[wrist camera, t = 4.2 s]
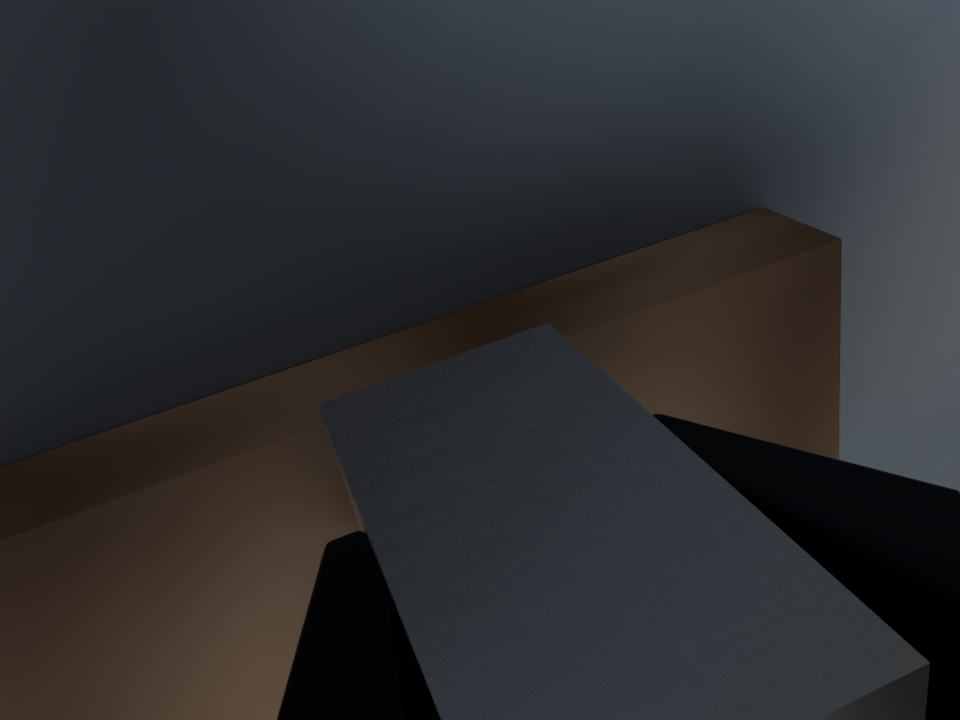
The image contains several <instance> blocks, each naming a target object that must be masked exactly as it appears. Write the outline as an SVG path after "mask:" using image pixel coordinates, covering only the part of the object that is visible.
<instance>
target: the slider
mask: <svg viewBox="0 0 960 720" xmlns="http://www.w3.org/2000/svg"><path fill="white" fill-rule="evenodd" d="M317 406H318V409H319V412H320V415H321V418H322V421H323V424H324V427H325V430H326V432H327V435H328V438H329V441H330V444H331V447H332V450H333V453H334V456H335V459H336V461H337V464H338V467H339V470H340V473H341V476H342V479H343V482H344V485H345V488H346V490H347V493H348V496H349V499H350V502H351V505H352V508H353V511H354V514H355V517H356V519H357V522H358V525H359V528H360V531H363V532H364V533H365V534H366V536H367V539H368V541H369V544H370V546H371V549H372V551H373V554H374V556H375V559H376V561H377V564H378V566H379V569H380V571H381V574H382V576H383V579H384V581H385V583H386V586H387V589H388V591H389V594H390V597H391V600H392V603H393V606H394V609H395V612H396V615H397V618H398V620H399V623H400V626H401V629H402V632H403V635H404V638H405V641H406V644H407V646H408V649H409V652H410V655H411V658H412V661H413V664H414V667H415V670H416V673H417V676H418V678H419V681H420V684H421V687H422V690H423V693H424V696H425V699H426V702H427V705H428V708H429V710H430V713H431V716H432V719H433V720H925V714H926V703H927V692H928V681H929V670H930V662H929V661H928V660H927V659H925V658H924V657H923V656H922V655H921V654H920V653H919V652H918V651H916V650H915V649H914V648H913V647H912V646H911V645H910V644H909V643H907V642H906V641H905V640H904V639H903V638H902V637H901V636H900V635H899V634H897V633H896V632H895V631H894V630H893V629H892V628H891V627H890V626H888V625H887V624H886V623H885V622H884V621H883V620H882V619H881V618H879V617H878V616H877V615H876V614H875V613H874V612H873V611H872V610H870V609H869V608H868V607H867V606H866V605H865V604H864V603H863V602H861V601H860V600H859V599H858V598H857V597H856V596H855V595H854V594H853V593H851V592H850V591H849V590H848V589H847V588H846V587H845V586H844V585H842V584H841V583H840V582H839V581H838V580H837V579H836V578H835V577H833V576H832V575H831V574H830V573H829V572H828V571H827V570H826V569H824V568H823V567H822V566H821V565H820V564H819V563H818V562H817V561H816V560H814V559H813V558H812V557H811V556H810V555H809V554H808V553H807V552H805V551H804V550H803V549H802V548H801V547H800V546H799V545H798V544H796V543H795V542H794V541H793V540H792V539H791V538H790V537H789V536H787V535H786V534H785V533H784V532H783V531H782V530H781V529H780V528H779V527H777V526H776V525H775V524H774V523H773V522H772V521H771V520H770V519H768V518H767V517H766V516H765V515H764V514H763V513H762V512H761V511H759V510H758V509H757V508H756V507H755V506H754V505H753V504H752V503H750V502H749V501H748V500H747V499H746V498H745V497H744V496H743V495H741V494H740V493H739V492H738V491H737V490H736V489H735V488H734V487H733V486H731V485H730V484H729V483H728V482H727V481H726V480H725V479H724V478H722V477H721V476H720V475H719V474H718V473H717V472H716V471H715V470H713V469H712V468H711V467H710V466H709V465H708V464H707V463H706V462H704V461H703V460H702V459H701V458H700V457H699V456H698V455H697V454H696V453H694V452H693V451H692V450H691V449H690V448H689V447H688V446H687V445H685V444H684V443H683V442H682V441H681V440H680V439H679V438H678V437H676V436H675V435H674V434H673V433H672V432H671V431H670V430H669V429H667V428H666V427H665V426H664V425H663V424H662V423H661V422H660V421H659V420H657V419H656V418H655V417H654V416H653V415H652V414H651V413H650V412H648V411H647V410H646V409H645V408H644V407H643V406H642V405H641V404H639V403H638V402H637V401H636V400H635V399H634V398H633V397H632V396H630V395H629V394H628V393H627V392H626V391H625V390H624V389H623V388H622V387H620V386H619V385H618V384H617V383H616V382H615V381H614V380H613V379H611V378H610V377H609V376H608V375H607V374H606V373H605V372H604V371H602V370H601V369H600V368H599V367H598V366H597V365H596V364H595V363H593V362H592V361H591V360H590V359H589V358H588V357H587V356H586V355H584V354H583V353H582V352H581V351H580V350H579V349H578V348H577V347H576V346H574V345H573V344H572V343H571V342H570V341H569V340H568V339H567V338H565V337H564V336H563V335H562V334H561V333H560V332H559V331H558V330H556V329H555V328H554V327H553V326H552V325H551V324H550V323H546V324H543V325H540V326H538V327H535V328H532V329H529V330H526V331H523V332H521V333H518V334H515V335H512V336H509V337H506V338H504V339H501V340H498V341H495V342H492V343H489V344H487V345H484V346H481V347H478V348H475V349H472V350H470V351H467V352H464V353H461V354H458V355H455V356H453V357H450V358H447V359H444V360H441V361H438V362H436V363H433V364H430V365H427V366H424V367H421V368H419V369H416V370H413V371H410V372H407V373H404V374H402V375H399V376H396V377H393V378H390V379H387V380H385V381H382V382H379V383H376V384H373V385H370V386H368V387H365V388H362V389H359V390H356V391H353V392H351V393H348V394H345V395H342V396H339V397H336V398H334V399H331V400H328V401H325V402H322V403H319V404H317Z"/></svg>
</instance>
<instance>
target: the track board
mask: <svg viewBox="0 0 960 720" xmlns="http://www.w3.org/2000/svg"><path fill="white" fill-rule="evenodd" d="M840 309H841V239H840V238H838V237H835V236H833V235H830V234H828V233H825V232H823V231H820V230H818V229H815V228H813V227H810V226H808V225H805V224H803V223H800V222H798V221H795V220H793V219H790V218H788V217H785V216H783V215H780V214H778V213H775V212H773V211H770V210H768V209H765V208H763V207H761V208H758V209H755V210H753V211H750V212H747V213H744V214H741V215H738V216H735V217H732V218H729V219H726V220H723V221H720V222H717V223H714V224H712V225H709V226H706V227H703V228H700V229H697V230H694V231H691V232H688V233H685V234H682V235H679V236H676V237H673V238H670V239H668V240H665V241H662V242H659V243H656V244H653V245H650V246H647V247H644V248H641V249H638V250H635V251H632V252H629V253H626V254H624V255H621V256H618V257H615V258H612V259H609V260H606V261H603V262H600V263H597V264H594V265H591V266H588V267H585V268H583V269H580V270H577V271H574V272H571V273H568V274H565V275H562V276H559V277H556V278H553V279H550V280H547V281H544V282H541V283H539V284H536V285H533V286H530V287H527V288H524V289H521V290H518V291H515V292H512V293H509V294H506V295H503V296H500V297H497V298H495V299H492V300H489V301H486V302H483V303H480V304H477V305H474V306H471V307H468V308H465V309H462V310H459V311H456V312H454V313H451V314H448V315H445V316H442V317H439V318H436V319H433V320H430V321H427V322H424V323H421V324H418V325H415V326H412V327H410V328H407V329H404V330H401V331H398V332H395V333H392V334H389V335H386V336H383V337H380V338H377V339H374V340H371V341H368V342H366V343H363V344H360V345H357V346H354V347H351V348H348V349H345V350H342V351H339V352H336V353H333V354H330V355H327V356H325V357H322V358H319V359H316V360H313V361H310V362H307V363H304V364H301V365H298V366H295V367H292V368H289V369H286V370H283V371H281V372H278V373H275V374H272V375H269V376H266V377H263V378H260V379H257V380H254V381H251V382H248V383H245V384H242V385H239V386H237V387H234V388H231V389H228V390H225V391H222V392H219V393H216V394H213V395H210V396H207V397H204V398H201V399H198V400H196V401H193V402H190V403H187V404H184V405H181V406H178V407H175V408H172V409H169V410H166V411H163V412H160V413H157V414H154V415H152V416H149V417H146V418H143V419H140V420H137V421H134V422H131V423H128V424H125V425H122V426H119V427H116V428H113V429H110V430H108V431H105V432H102V433H99V434H96V435H93V436H90V437H87V438H84V439H81V440H78V441H75V442H72V443H69V444H66V445H64V446H61V447H58V448H55V449H52V450H49V451H46V452H43V453H40V454H37V455H34V456H31V457H28V458H25V459H23V460H20V461H17V462H14V463H11V464H8V465H5V466H2V467H0V720H277V717H278V713H279V709H280V706H281V702H282V699H283V695H284V691H285V688H286V684H287V681H288V677H289V673H290V670H291V666H292V663H293V659H294V656H295V652H296V648H297V645H298V641H299V638H300V634H301V630H302V627H303V623H304V620H305V616H306V612H307V609H308V605H309V602H310V598H311V594H312V591H313V587H314V584H315V580H316V576H317V573H318V569H319V566H320V562H321V558H322V555H323V551H324V548H325V546H326V544H327V543H328V542H330V541H331V540H334V539H337V538H339V537H342V536H344V535H347V534H349V533H352V532H355V531H358V530H360V528H359V525H358V522H357V519H356V517H355V514H354V511H353V508H352V505H351V502H350V499H349V496H348V493H347V490H346V488H345V485H344V482H343V479H342V476H341V473H340V470H339V467H338V464H337V461H336V459H335V456H334V453H333V450H332V447H331V444H330V441H329V438H328V435H327V432H326V430H325V427H324V424H323V421H322V418H321V415H320V412H319V409H318V406H317V404H319V403H322V402H325V401H328V400H331V399H334V398H336V397H339V396H342V395H345V394H348V393H351V392H353V391H356V390H359V389H362V388H365V387H368V386H370V385H373V384H376V383H379V382H382V381H385V380H387V379H390V378H393V377H396V376H399V375H402V374H404V373H407V372H410V371H413V370H416V369H419V368H421V367H424V366H427V365H430V364H433V363H436V362H438V361H441V360H444V359H447V358H450V357H453V356H455V355H458V354H461V353H464V352H467V351H470V350H472V349H475V348H478V347H481V346H484V345H487V344H489V343H492V342H495V341H498V340H501V339H504V338H506V337H509V336H512V335H515V334H518V333H521V332H523V331H526V330H529V329H532V328H535V327H538V326H540V325H543V324H546V323H550V324H551V325H552V326H553V327H554V328H555V329H556V330H558V331H559V332H560V333H561V334H562V335H563V336H564V337H565V338H567V339H568V340H569V341H570V342H571V343H572V344H573V345H574V346H576V347H577V348H578V349H579V350H580V351H581V352H582V353H583V354H584V355H586V356H587V357H588V358H589V359H590V360H591V361H592V362H593V363H595V364H596V365H597V366H598V367H599V368H600V369H601V370H602V371H604V372H605V373H606V374H607V375H608V376H609V377H610V378H611V379H613V380H614V381H615V382H616V383H617V384H618V385H619V386H620V387H622V388H623V389H624V390H625V391H626V392H627V393H628V394H629V395H630V396H632V397H633V398H634V399H635V400H636V401H637V402H638V403H639V404H641V405H642V406H643V407H644V408H645V409H646V410H647V411H648V412H650V413H651V414H664V415H667V416H671V417H675V418H679V419H683V420H687V421H691V422H694V423H698V424H702V425H706V426H710V427H714V428H718V429H722V430H725V431H729V432H733V433H737V434H741V435H745V436H749V437H752V438H756V439H760V440H764V441H768V442H772V443H776V444H780V445H783V446H787V447H791V448H795V449H799V450H803V451H807V452H811V453H814V454H818V455H822V456H826V457H830V458H834V459H838V460H839V390H840Z"/></svg>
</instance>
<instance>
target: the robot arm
mask: <svg viewBox="0 0 960 720" xmlns="http://www.w3.org/2000/svg"><path fill="white" fill-rule="evenodd" d="M652 415H653V416H654V417H655V418H656V419H657V420H659V421H660V422H661V423H662V424H663V425H664V426H665V427H666V428H667V429H669V430H670V431H671V432H672V433H673V434H674V435H675V436H676V437H678V438H679V439H680V440H681V441H682V442H683V443H684V444H685V445H687V446H688V447H689V448H690V449H691V450H692V451H693V452H694V453H696V454H697V455H698V456H699V457H700V458H701V459H702V460H703V461H704V462H706V463H707V464H708V465H709V466H710V467H711V468H712V469H713V470H715V471H716V472H717V473H718V474H719V475H720V476H721V477H722V478H724V479H725V480H726V481H727V482H728V483H729V484H730V485H731V486H733V487H734V488H735V489H736V490H737V491H738V492H739V493H740V494H741V495H743V496H744V497H745V498H746V499H747V500H748V501H749V502H750V503H752V504H753V505H754V506H755V507H756V508H757V509H758V510H759V511H761V512H762V513H763V514H764V515H765V516H766V517H767V518H768V519H770V520H771V521H772V522H773V523H774V524H775V525H776V526H777V527H779V528H780V529H781V530H782V531H783V532H784V533H785V534H786V535H787V536H789V537H790V538H791V539H792V540H793V541H794V542H795V543H796V544H798V545H799V546H800V547H801V548H802V549H803V550H804V551H805V552H807V553H808V554H809V555H810V556H811V557H812V558H813V559H814V560H816V561H817V562H818V563H819V564H820V565H821V566H822V567H823V568H824V569H826V570H827V571H828V572H829V573H830V574H831V575H832V576H833V577H835V578H836V579H837V580H838V581H839V582H840V583H841V584H842V585H844V586H845V587H846V588H847V589H848V590H849V591H850V592H851V593H853V594H854V595H855V596H856V597H857V598H858V599H859V600H860V601H861V602H863V603H864V604H865V605H866V606H867V607H868V608H869V609H870V610H872V611H873V612H874V613H875V614H876V615H877V616H878V617H879V618H881V619H882V620H883V621H884V622H885V623H886V624H887V625H888V626H890V627H891V628H892V629H893V630H894V631H895V632H896V633H897V634H899V635H900V636H901V637H902V638H903V639H904V640H905V641H906V642H907V643H909V644H910V645H911V646H912V647H913V648H914V649H915V650H916V651H918V652H919V653H920V654H921V655H922V656H923V657H924V658H925V659H927V660H928V661H929V662H930V670H929V681H928V692H927V703H926V714H925V720H960V492H959V491H957V490H954V489H950V488H946V487H942V486H938V485H934V484H930V483H927V482H923V481H919V480H915V479H911V478H907V477H903V476H899V475H896V474H892V473H888V472H884V471H880V470H876V469H872V468H869V467H865V466H861V465H857V464H853V463H849V462H845V461H841V460H838V459H834V458H830V457H826V456H822V455H818V454H814V453H811V452H807V451H803V450H799V449H795V448H791V447H787V446H783V445H780V444H776V443H772V442H768V441H764V440H760V439H756V438H752V437H749V436H745V435H741V434H737V433H733V432H729V431H725V430H722V429H718V428H714V427H710V426H706V425H702V424H698V423H694V422H691V421H687V420H683V419H679V418H675V417H671V416H667V415H664V414H652ZM277 720H433V719H432V716H431V713H430V710H429V708H428V705H427V702H426V699H425V696H424V693H423V690H422V687H421V684H420V681H419V678H418V676H417V673H416V670H415V667H414V664H413V661H412V658H411V655H410V652H409V649H408V646H407V644H406V641H405V638H404V635H403V632H402V629H401V626H400V623H399V620H398V618H397V615H396V612H395V609H394V606H393V603H392V600H391V597H390V594H389V591H388V589H387V586H386V583H385V581H384V579H383V576H382V574H381V571H380V569H379V566H378V564H377V561H376V559H375V556H374V554H373V551H372V549H371V546H370V544H369V541H368V539H367V536H366V534H365V533H364V532H363V531H360V530H358V531H355V532H352V533H349V534H347V535H344V536H342V537H339V538H337V539H334V540H331V541H330V542H328V543H327V544H326V546H325V548H324V551H323V555H322V558H321V562H320V566H319V569H318V573H317V576H316V580H315V584H314V587H313V591H312V594H311V598H310V602H309V605H308V609H307V612H306V616H305V620H304V623H303V627H302V630H301V634H300V638H299V641H298V645H297V648H296V652H295V656H294V659H293V663H292V666H291V670H290V673H289V677H288V681H287V684H286V688H285V691H284V695H283V699H282V702H281V706H280V709H279V713H278V717H277Z"/></svg>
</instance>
